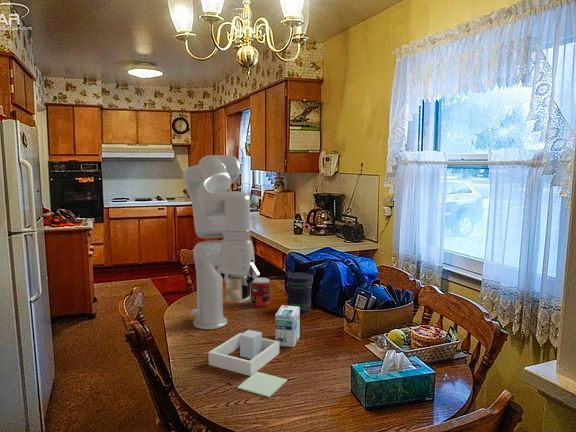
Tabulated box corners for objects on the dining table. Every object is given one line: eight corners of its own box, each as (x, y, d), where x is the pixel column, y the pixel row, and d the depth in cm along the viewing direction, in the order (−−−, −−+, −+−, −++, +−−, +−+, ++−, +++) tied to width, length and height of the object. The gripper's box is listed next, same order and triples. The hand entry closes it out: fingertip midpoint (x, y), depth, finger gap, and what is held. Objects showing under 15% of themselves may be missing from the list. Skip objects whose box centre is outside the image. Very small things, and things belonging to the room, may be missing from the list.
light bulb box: (294, 347, 146) (294, 316, 145) (274, 346, 147) (274, 314, 146) (300, 335, 156) (300, 305, 155) (281, 333, 158) (281, 304, 156)
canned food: (250, 302, 193) (250, 277, 192) (269, 301, 194) (269, 277, 192) (251, 307, 185) (250, 282, 184) (270, 307, 186) (270, 282, 185)
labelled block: (226, 300, 131) (225, 277, 130) (236, 296, 136) (235, 273, 135) (240, 303, 129) (240, 279, 128) (249, 298, 133) (249, 275, 132)
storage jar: (315, 309, 184) (315, 274, 182) (303, 316, 175) (303, 279, 173) (294, 305, 189) (295, 271, 187) (282, 311, 181) (282, 276, 179)
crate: (208, 364, 134) (208, 352, 133) (240, 344, 148) (240, 332, 148) (250, 376, 127) (250, 362, 126) (279, 353, 142) (279, 341, 141)
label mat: (237, 388, 120) (237, 386, 120) (256, 372, 129) (256, 371, 129) (269, 397, 115) (269, 396, 115) (287, 380, 124) (287, 379, 124)
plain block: (240, 356, 140) (239, 335, 139) (248, 350, 144) (248, 329, 143) (253, 359, 137) (253, 338, 136) (261, 353, 142) (261, 332, 141)
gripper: (206, 235, 130) (207, 295, 133) (255, 240, 122) (255, 304, 125) (221, 231, 137) (222, 288, 139) (268, 236, 129) (268, 296, 131)
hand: (237, 295), depth 132 cm, fingers closed on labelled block, 5 cm apart
